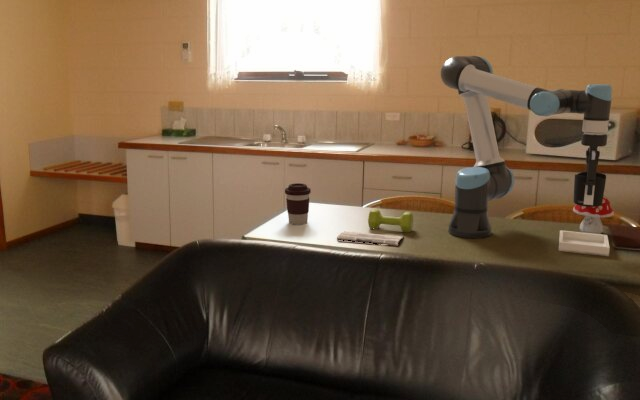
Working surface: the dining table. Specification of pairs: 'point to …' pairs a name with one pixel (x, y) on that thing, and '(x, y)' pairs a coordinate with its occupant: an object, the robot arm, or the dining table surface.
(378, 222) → the dumbbell
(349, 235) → the newspaper
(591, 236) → the tray
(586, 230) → the decorative mushroom
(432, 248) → the dining table surface
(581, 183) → the pen holder
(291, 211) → the coffee cup
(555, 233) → the dining table surface
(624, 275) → the dining table surface
